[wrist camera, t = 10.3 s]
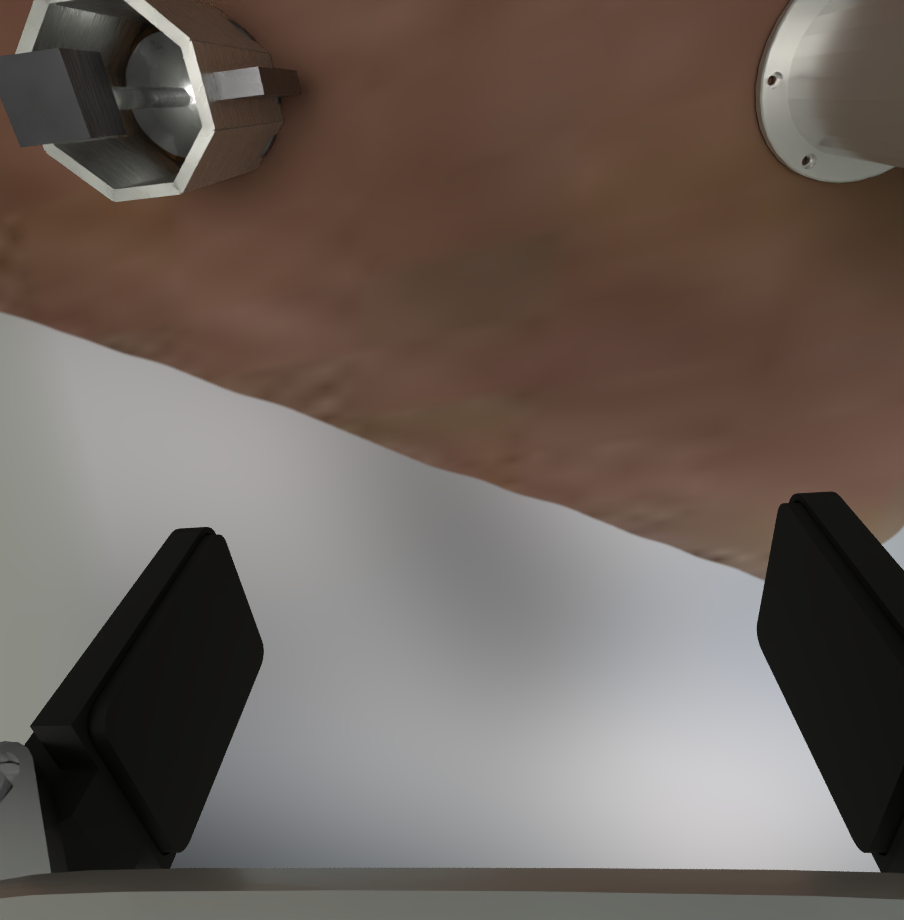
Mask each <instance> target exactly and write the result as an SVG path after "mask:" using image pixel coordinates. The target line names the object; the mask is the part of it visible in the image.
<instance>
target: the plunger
mask: <svg viewBox="0 0 904 920" xmlns="http://www.w3.org/2000/svg"><path fill="white" fill-rule="evenodd" d="M0 98H1V100H2V102H3V105H4V107H5V110H6V112H7V115H8V117H9V120H10V122H11V125H12V127H13V129H14V132H15V134H16V137H17V139H18V142H19V144H20V147H27V146H36V145H45V144H53V143H62V142H70V141H78V140H86V139H93V138H101V137H109V136H117V135H125V134H127V133H126V130H125V127H124V124H123V121H122V118H121V115H120V112H119V110H127V109H132V112H133V114H134V116H135V118H136V120H137V122H138V123H139V125H140V127H141V128H142V129H143V131H144V132H145V133H146V134H147V135H148V137H149V138H150V139H151V140H152V141H154V142H155V143H156V144H157V145H158V146H160V147H161V148H163V149H164V150H166V151H168V152H170V153H171V154H174V155H177V156H180V157H184V158H186V157H187V155H188V153H189V152H190V150H191V148H192V146H193V144H194V142H195V140H196V138H197V136H198V134H199V132H200V130H201V128H202V123H201V119H200V115H199V112H198V108H197V104H196V101H195V97H194V93H193V90H192V86H191V82H190V79H189V75H188V71H187V68H186V64H185V60H184V57H183V53H182V49H181V47H180V46H179V45H177V44H176V43H175V42H174V41H173V40H171V39H170V38H169V37H168V36H167V35H165V34H164V33H163V32H162V31H160V32H156V33H154V34H151V35H149V36H148V37H146V38H145V39H143V40H142V41H141V42H140V43H139V44H138V45H137V46H136V48H135V49H134V51H133V53H132V55H131V56H130V59H129V62H128V66H127V71H126V87H113V86H111V84H110V81H109V78H108V75H107V72H106V69H105V66H104V63H103V60H102V57H101V54H100V52H94V51H84V50H75V49H65V48H54V49H47V50H40V51H33V52H26V53H20V54H13V55H6V56H0Z"/></svg>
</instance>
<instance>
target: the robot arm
mask: <svg viewBox="0 0 904 920" xmlns="http://www.w3.org/2000/svg"><path fill="white" fill-rule="evenodd" d="M770 76H772V77H773V79H774V80H773V83H772V84H771V85H768V82H767V81H768V78H769V77H770ZM756 112H757V117H758V122H759V127H760V130H761V132H762V134H763V137H764V139H765V141H766V143H767V146H768V147H769V148H770V150H771V151H772V152H773V154H774V155H775V156H776V158H777V159H778V160H779V161H780V162H782V163H783V164H784V165H785V166H787V167H788V168H789V169H790V170H792V171H794V172H796V173H798V174H801V175H803V176H805V177H807V178H811V179H815V180H819V181H824V182H835V183H844V182H853V181H860V180H864V179H867V178H871V177H874V176H877V175H880V174H882V173H884V172H886V171H889V170H891V169H893V168H895V167H900V168H904V0H790V2H789V3H788V5H787V6H786V8H785V9H784V11H783V12H782V13H781V15H780V16H779V18H778V20H777V22H776V24H775V26H774V28H773V30H772V32H771V34H770V36H769V38H768V40H767V42H766V45H765V48H764V51H763V54H762V58H761V61H760V64H759V69H758V75H757V82H756ZM805 156H806V157H807V161H806V162H805V163H804V164H802V160H803V158H804V157H805ZM757 636H758V641H759V644H760V647H761V649H762V652H763V654H764V656H765V658H766V660H767V662H768V664H769V666H770V668H771V670H772V672H773V675H774V677H775V679H776V681H777V683H778V685H779V687H780V689H781V691H782V693H783V695H784V697H785V699H786V702H787V704H788V706H789V708H790V710H791V712H792V714H793V716H794V718H795V720H796V722H797V724H798V726H799V729H800V731H801V733H802V735H803V737H804V739H805V741H806V743H807V745H808V747H809V749H810V751H811V754H812V756H813V757H814V760H815V762H816V764H817V766H818V768H819V770H820V772H821V774H822V776H823V779H824V780H825V783H826V785H827V787H828V789H829V791H830V793H831V795H832V797H833V799H834V801H835V803H836V805H837V808H838V810H839V812H840V814H841V816H842V818H843V820H844V822H845V824H846V826H847V828H848V830H849V833H850V835H851V837H852V839H853V840H854V842H855V844H856V846H857V847H858V848H859V849H860V850H861V851H862V852H864V853H872V855H873V857H874V859H875V861H876V863H877V865H878V867H879V869H880V871H881V873H879V872H877V873H876V872H840V871H839V872H838V871H800V870H730V869H721V870H720V869H609V868H608V869H607V868H605V869H604V868H176V869H170V867H171V865H172V862H173V860H174V857H175V855H176V853H180V852H182V851H183V850H184V849H185V848H186V847H187V845H188V843H189V841H190V839H191V837H192V834H193V832H194V829H195V827H196V824H197V822H198V820H199V817H200V815H201V812H202V810H203V807H204V805H205V802H206V800H207V797H208V795H209V793H210V790H211V788H212V785H213V783H214V780H215V777H216V775H217V773H218V770H219V768H220V765H221V763H222V761H223V758H224V756H225V753H226V750H227V748H228V746H229V743H230V741H231V738H232V736H233V733H234V731H235V729H236V726H237V723H238V721H239V719H240V716H241V714H242V711H243V709H244V706H245V704H246V701H247V699H248V696H249V694H250V692H251V689H252V687H253V684H254V681H255V679H256V677H257V674H258V672H259V669H260V667H261V664H262V661H263V654H264V649H263V643H262V640H261V637H260V634H259V631H258V629H257V626H256V623H255V620H254V618H253V615H252V612H251V609H250V606H249V604H248V601H247V598H246V595H245V593H244V590H243V587H242V585H241V582H240V579H239V576H238V573H237V571H236V568H235V565H234V562H233V560H232V557H231V554H230V551H229V549H228V546H227V543H226V541H225V539H224V537H223V536H222V535H216V533H215V532H214V530H213V529H212V528H209V527H199V528H182V529H176V530H174V531H173V532H172V533H171V534H170V536H169V537H168V539H167V540H166V541H165V543H164V544H163V546H162V547H161V548H160V550H159V551H158V552H157V554H156V555H155V557H154V558H153V559H152V560H151V562H150V563H149V564H148V566H147V567H146V569H145V570H144V571H143V573H142V574H141V575H140V577H139V578H138V580H137V581H136V582H135V584H134V585H133V587H132V588H131V589H130V590H129V592H128V593H127V595H126V596H125V597H124V599H123V600H122V602H121V603H120V604H119V606H118V607H117V608H116V610H115V611H114V612H113V614H112V615H111V617H110V618H109V619H108V621H107V622H106V623H105V625H104V626H103V627H102V629H101V630H100V631H99V633H98V634H97V636H96V637H95V638H94V640H93V641H92V642H91V644H90V645H89V647H88V648H87V649H86V651H85V652H84V653H83V655H82V656H81V657H80V659H79V660H78V661H77V663H76V664H75V666H74V667H73V668H72V670H71V671H70V672H69V674H68V675H67V677H66V678H65V679H64V681H63V682H62V683H61V685H60V686H59V688H58V689H57V690H56V692H55V693H54V694H53V696H52V697H51V698H50V700H49V701H48V702H47V704H46V705H45V707H44V708H43V709H42V711H41V712H40V713H39V715H38V716H37V718H36V719H35V720H34V722H33V723H32V724H31V726H30V727H31V728H32V730H33V731H34V732H33V734H32V735H31V737H30V738H29V740H28V741H27V742H26V743H25V745H22V744H20V743H19V742H8V741H3V742H0V920H904V570H903V569H902V568H901V567H900V566H899V565H898V564H897V562H896V561H895V560H894V559H893V558H892V556H890V554H889V553H888V552H887V551H886V549H885V548H884V547H883V546H882V545H881V544H880V542H879V541H878V540H877V539H876V538H875V537H874V535H873V534H872V533H871V532H870V531H869V530H868V528H867V527H866V526H865V525H864V524H863V523H862V521H861V520H860V519H859V518H858V517H857V516H856V514H855V513H854V512H853V511H852V510H851V509H850V507H849V506H848V505H847V504H846V503H845V502H844V500H843V499H842V498H841V497H840V496H839V495H838V494H837V493H835V492H815V493H798V494H794V495H793V496H792V497H791V499H790V501H789V503H783V504H781V505H780V507H779V509H778V513H777V518H776V524H775V529H774V534H773V540H772V545H771V551H770V556H769V562H768V567H767V573H766V578H765V584H764V590H763V595H762V600H761V605H760V612H759V617H758V622H757Z"/></svg>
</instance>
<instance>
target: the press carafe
mask: <svg viewBox="0 0 904 920" xmlns="http://www.w3.org/2000/svg"><path fill="white" fill-rule="evenodd" d="M160 31H162V32H163V33H164V34H165V35H167V36H168V37H169V38H170V39H171V40H173V41H174V42H175V43H176V44H177V45H179V46H180V47H181V49H182V53H183V57H184V60H185V64H186V68H187V71H188V75H189V79H190V82H191V86H192V90H193V93H194V97H195V101H196V104H197V108H198V112H199V115H200V119H201V123H202V128H201V130H200V132H199V134H198V136H197V138H196V140H195V142H194V144H193V146H192V148H191V150H190V152H189V153H188V155H187V157H186V158H184V157H180V156H177V155H174V154H171V153H170V152H168V151H166V150H164V149H163V148H161V147H160V146H158V145H157V144H156V143H155V142H154V141H152V140H151V139H150V138H149V137H148V135H147V134H146V133H145V132H144V131H143V129H142V128H141V127H140V125H139V123H138V122H137V120H136V118H135V116H134V114H133V112H132V109H127V110H119V112H120V115H121V118H122V121H123V124H124V127H125V130H126V133H127V134H125V135H117V136H109V137H101V138H93V139H86V140H78V141H70V142H62V143H53V144H45V145H43V147H44V150H45V151H47V152H46V153H47V154H49V155H50V156H51V157H53V158H54V159H56V160H57V161H58V162H60V163H61V164H62V165H64V166H65V167H67V168H68V169H69V170H71V171H72V172H73V173H75V174H76V175H78V176H79V177H80V178H82V179H83V180H84V181H86V182H87V183H89V184H90V185H91V186H93V187H94V188H95V189H97V190H98V191H100V192H101V193H102V194H104V195H105V196H106V197H108V198H109V199H110V200H112V201H115V202H119V201H127V200H136V199H145V198H153V197H162V196H170V195H179V194H183V193H186V192H189V191H193V190H196V189H199V188H202V187H205V186H208V185H211V184H214V183H217V182H220V181H223V180H226V179H230V178H233V177H236V176H239V175H242V174H245V173H248V172H251V171H254V170H256V169H257V168H258V166H259V164H260V163H261V161H262V159H263V158H264V156H265V155H266V154H267V153H268V151H269V150H270V148H271V147H272V145H273V143H274V141H275V139H276V136H277V133H278V132H279V130H280V128H281V126H282V125H283V123H284V121H282V120H284V116H283V112H282V107H281V98H280V97H283V96H290V95H298V94H301V92H300V87H299V82H298V77H297V72H296V71H294V70H285V69H276V68H273V65H272V60H271V56H270V54H269V52H268V51H267V50H266V49H264V48H263V47H262V46H261V45H260V44H259V43H257V42H256V40H255V39H254V38H253V37H252V36H251V35H250V34H249V33H248V32H247V31H246V30H245V29H244V28H242V27H241V26H240V25H238V24H237V23H236V22H234V21H232V20H231V19H230V18H229V17H227V16H226V15H225V14H224V13H223V12H222V11H220V10H219V9H218V8H216V7H212V6H209V5H206V4H203V3H199V2H196V1H193V0H34V2H33V5H32V8H31V11H30V13H29V16H28V19H27V22H26V25H25V28H24V30H23V33H22V36H21V39H20V42H19V45H18V48H17V50H16V53H15V54H20V53H26V52H33V51H40V50H47V49H54V48H65V49H75V50H84V51H94V52H100V54H101V57H102V60H103V63H104V66H105V69H106V72H107V75H108V78H109V81H110V84H111V86H113V87H126V71H127V66H128V62H129V59H130V56H131V55H132V53H133V51H134V49H135V48H136V46H137V45H138V44H139V43H140V42H141V41H142V40H143V39H145V38H146V37H148V36H149V35H151V34H154V33H156V32H160Z"/></svg>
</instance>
